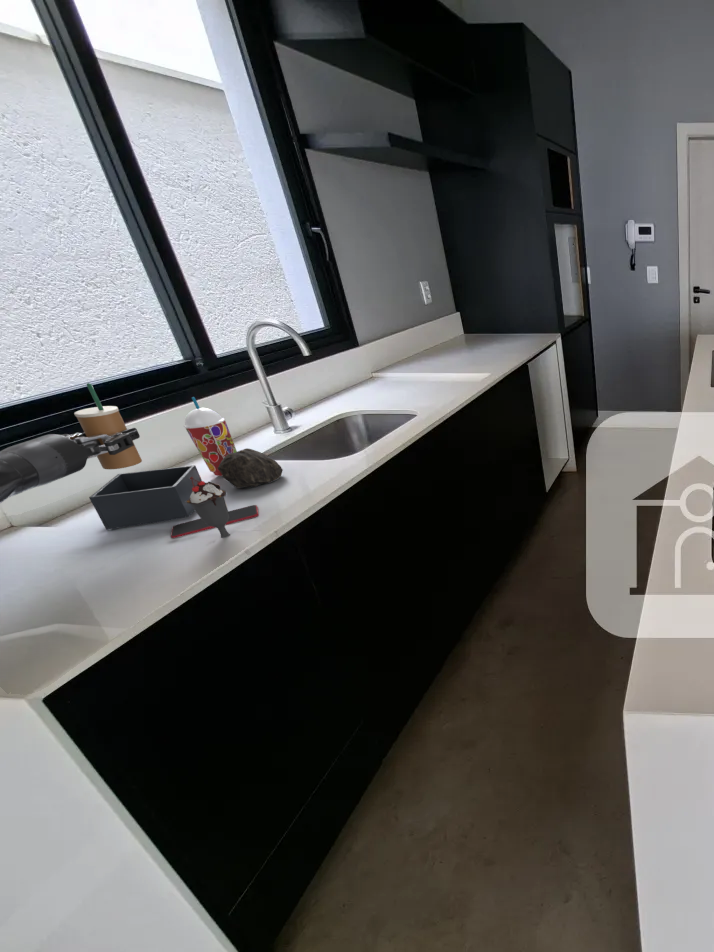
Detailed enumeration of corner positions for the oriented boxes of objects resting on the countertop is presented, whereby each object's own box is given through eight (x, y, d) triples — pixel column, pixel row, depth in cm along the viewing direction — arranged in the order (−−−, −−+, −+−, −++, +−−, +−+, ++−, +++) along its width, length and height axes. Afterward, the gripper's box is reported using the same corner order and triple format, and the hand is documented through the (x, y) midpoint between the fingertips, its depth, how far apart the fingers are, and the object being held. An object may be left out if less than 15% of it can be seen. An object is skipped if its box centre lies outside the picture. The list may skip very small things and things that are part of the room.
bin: (106, 529, 120) (88, 497, 116) (133, 504, 131) (117, 473, 128) (189, 517, 125) (174, 486, 122) (207, 494, 137) (195, 465, 133)
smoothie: (252, 469, 150) (219, 394, 141) (216, 480, 144) (178, 403, 135) (239, 464, 154) (206, 392, 145) (203, 475, 148) (166, 400, 139)
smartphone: (172, 525, 120) (256, 504, 128) (174, 529, 121) (258, 507, 128) (170, 537, 115) (257, 514, 123) (172, 540, 115) (259, 517, 123)
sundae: (216, 552, 111) (180, 482, 105) (202, 544, 115) (166, 476, 108) (253, 537, 116) (221, 470, 109) (239, 531, 120) (207, 465, 113)
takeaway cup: (96, 471, 112) (53, 388, 105) (109, 461, 117) (69, 381, 110) (135, 467, 115) (96, 385, 107) (147, 457, 120) (110, 378, 112)
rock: (294, 472, 146) (271, 437, 140) (260, 495, 137) (234, 459, 131) (264, 475, 148) (240, 441, 143) (228, 498, 139) (201, 463, 134)
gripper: (72, 440, 99) (148, 414, 114) (-16, 442, 98) (72, 415, 113) (93, 479, 103) (164, 449, 118) (8, 481, 102) (90, 450, 117)
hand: (118, 432), depth 115 cm, fingers closed on takeaway cup, 6 cm apart
